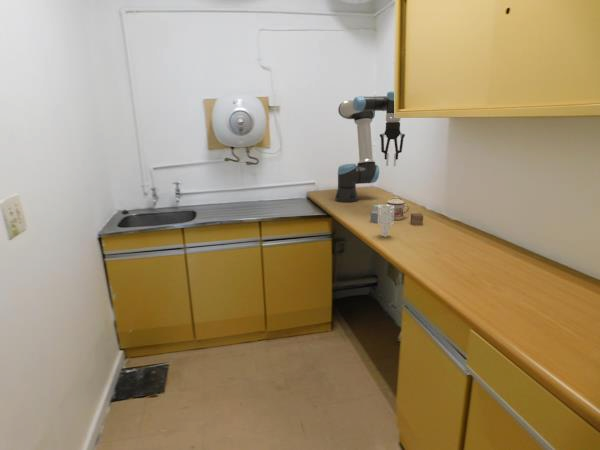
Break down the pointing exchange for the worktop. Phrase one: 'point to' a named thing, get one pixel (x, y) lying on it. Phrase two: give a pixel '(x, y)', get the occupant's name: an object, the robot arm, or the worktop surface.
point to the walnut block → (416, 219)
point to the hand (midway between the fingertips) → (390, 165)
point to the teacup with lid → (398, 208)
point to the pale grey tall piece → (385, 218)
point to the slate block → (374, 217)
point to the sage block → (376, 207)
